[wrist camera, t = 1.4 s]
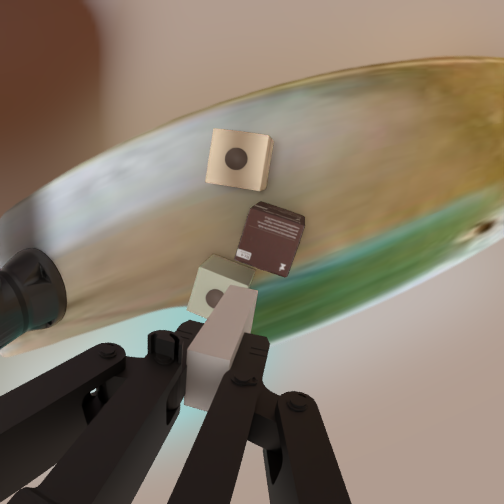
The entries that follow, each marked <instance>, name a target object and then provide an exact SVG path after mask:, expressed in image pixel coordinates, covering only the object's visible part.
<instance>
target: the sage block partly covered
mask: <svg viewBox="0 0 504 504" xmlns="http://www.w3.org/2000/svg"><path fill="white" fill-rule="evenodd" d="M255 271H256V270H254V269H251V268H249V267H246V266H243V265H241V264H238V263H236V262H233V261H230V260H228V259H225V258H223V257H220V256H218V255H215V254H213V255H211V256H210V257H209V258H208V259H207V260H206V261H205V262H204V263H203V264H202V265H200V266H199V269H198V273H197V276H196V279H195V283H194V286H193V289H192V293H191V296H190V300H189V303H188V307H187V311H189V312H192V313H194V314H197V315H199V316H202V317H204V318H206V319H208V317H209V316H210V314H211V313H212V311H213V310H214V308H215V307H216V305H217V304H218V302H219V301H220V299H221V298H222V296H223V295H224V293H225V292H226V290H227V289H228V287H229V286H230V285H234V286H239V287H243V288H248V289H249V287H250V285H251V282H252V279H253V277H254V274H255Z"/></svg>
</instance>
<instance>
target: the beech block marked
mask: <svg viewBox="0 0 504 504" xmlns="http://www.w3.org/2000/svg"><path fill="white" fill-rule="evenodd" d="M273 144H274V141H273V140H272V138H271V137H270V136H269V135H263V134H256V133H249V132H241V131H233V130H225V129H216V128H214V129H213V135H212V142H211V148H210V154H209V160H208V167H207V174H206V180H205V182H206V183H212V184H219V185H225V186H232V187H238V188H244V189H250V190H256V191H262V190H264V189H266V186H267V180H268V174H269V168H270V162H271V156H272V150H273Z"/></svg>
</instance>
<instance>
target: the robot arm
mask: <svg viewBox="0 0 504 504" xmlns="http://www.w3.org/2000/svg"><path fill="white" fill-rule="evenodd" d="M257 295H258V290H253V289H248V288H243V287H239V286H234V285H230V286H229V287H228V289H227V290H226V292H225V293H224V295H223V296H222V298H221V299H220V301H219V302H218V304H217V305H216V307H215V308H214V310H213V311H212V313H211V314H210V316H209V317H208V319H207V321H206V322H205V323H200V322H196V321H192V320H188V321H186V322H184V323H182V324H181V325H180V326H179V327H178V329H177V331H175V332H172V331H167V330H158V331H154V332H151V333H150V334H149V335H148V354H147V355H146V356H145V358H136V357H128V356H126V353H125V350H124V349H123V348H122V347H121V346H119V345H117V344H114V343H101V344H98V345H96V346H94V347H92V348H90V349H88V350H86V351H84V352H83V353H81V354H79V355H77V356H75V357H74V358H71V359H70V360H68V361H66V362H64V363H62V364H61V365H58V366H56V367H55V368H53V369H51V370H49V371H47V372H45V373H43V374H41V375H40V376H38V377H36V378H34V379H32V380H30V381H28V382H27V383H25V384H23V385H21V386H19V387H17V388H15V389H14V390H11V391H10V392H8V393H6V394H4V395H2V396H0V502H2V501H3V500H5V499H6V498H8V497H9V496H11V495H12V494H13V493H15V492H17V491H18V490H19V491H18V492H17V493H15V495H14V496H13V497H12V498H11V499H10V500H9V502H8V503H7V504H131V503H132V501H133V499H134V497H135V495H136V494H137V492H138V490H139V488H140V486H141V484H142V482H143V481H144V479H145V477H146V475H147V473H148V471H149V469H150V467H151V466H152V464H153V462H154V460H155V458H156V456H157V454H158V452H159V451H160V449H161V446H162V445H163V443H164V441H165V439H166V437H167V436H168V434H169V432H170V430H171V428H172V426H173V424H174V422H175V420H176V419H177V417H178V415H179V411H180V403H181V401H182V399H183V397H184V405H186V406H190V407H193V408H197V409H201V410H204V411H207V415H206V417H205V419H204V422H203V424H202V426H201V429H200V431H199V433H198V435H197V438H196V440H195V442H194V444H193V447H192V449H191V451H190V454H189V456H188V458H187V460H186V463H185V465H184V467H183V469H182V472H181V474H180V477H179V478H178V481H177V483H176V485H175V487H174V489H173V492H172V494H171V496H170V498H169V501H168V503H167V504H230V501H231V498H232V494H233V491H234V487H235V483H236V480H237V476H238V472H239V469H240V465H241V461H242V457H243V453H244V450H245V446H246V442H247V440H248V441H250V442H252V443H254V444H256V445H258V446H260V447H262V448H263V456H264V463H265V470H266V477H267V485H268V492H269V498H270V504H351V501H350V498H349V495H348V492H347V490H346V486H345V483H344V481H343V478H342V475H341V472H340V469H339V466H338V463H337V460H336V458H335V455H334V452H333V449H332V446H331V444H330V441H329V438H328V435H327V432H326V429H325V426H324V423H323V421H322V418H321V415H320V412H319V409H318V406H317V404H316V402H315V401H314V399H313V398H311V397H310V396H309V395H307V394H304V393H302V392H296V391H291V392H286V393H284V394H281V396H279V395H277V394H275V393H273V392H271V391H270V390H268V389H267V388H266V387H265V385H264V384H263V381H262V377H263V372H264V368H265V363H266V359H267V355H268V350H269V346H270V343H269V341H268V339H267V337H264V336H259V335H254V334H250V332H251V327H252V322H253V316H254V311H255V306H256V300H257ZM65 310H66V294H65V288H64V285H63V282H62V279H61V276H60V274H59V272H58V270H57V268H56V267H55V265H54V264H53V262H52V261H51V260H50V258H49V257H48V256H47V255H46V254H44V253H43V252H42V251H40V250H38V249H35V248H29V249H26V250H23V251H20V252H18V253H17V254H15V255H14V256H13V258H11V259H10V260H9V261H8V262H7V263H6V264H5V265H4V266H3V267H2V268H1V269H0V349H2V348H3V347H4V346H6V345H7V344H9V343H10V342H12V341H13V340H15V339H16V338H17V337H19V336H20V335H22V334H23V333H25V332H27V331H33V330H39V329H45V328H49V327H51V326H53V325H55V324H56V323H58V322H59V321H60V320H61V319H62V318H63V316H64V314H65ZM95 388H96V391H95V392H93V393H90V392H91V391H92V390H94V389H95ZM56 463H57V464H56ZM55 464H56V465H55ZM54 465H55V467H54V468H53V469H52V470H51V472H50V473H49V474H48V475H47V476H46V478H45V479H44V480H43V482H42V483H41V484H40V485H39V486H38V487H36V488H29V487H25V488H23V489H21V488H22V487H24V486H25V485H27V484H28V483H30V482H31V481H32V480H34V479H35V478H37V477H38V476H40V475H41V474H42V473H44V472H45V471H47V470H48V469H49V468H51V467H52V466H54Z"/></svg>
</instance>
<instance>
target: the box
mask: <svg viewBox="0 0 504 504" xmlns="http://www.w3.org/2000/svg"><path fill="white" fill-rule="evenodd" d="M304 228H305V217H304V216H302V215H299V214H296V213H294V212H291V211H288V210H285V209H282V208H279V207H277V206H273V205H270V204H267V203H264V202H259V203H257V204H256V205H254V206H253V207H252V208H250V210H249V213H248V216H247V220H246V223H245V226H244V229H243V233H242V236H241V239H240V242H239V245H238V248H237V252H236V255H235V258H234V259H235V260H236V261H239V262H242V263H245V264H248V265H251V266H254V267H256V268H258V269H260V270H264V271H268V272H271V273H274V274H277V275H279V276H282V277H287V276H288V274H289V271H290V268H291V265H292V262H293V260H294V257H295V254H296V251H297V248H298V245H299V243H300V239H301V236H302V233H303V230H304Z"/></svg>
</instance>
